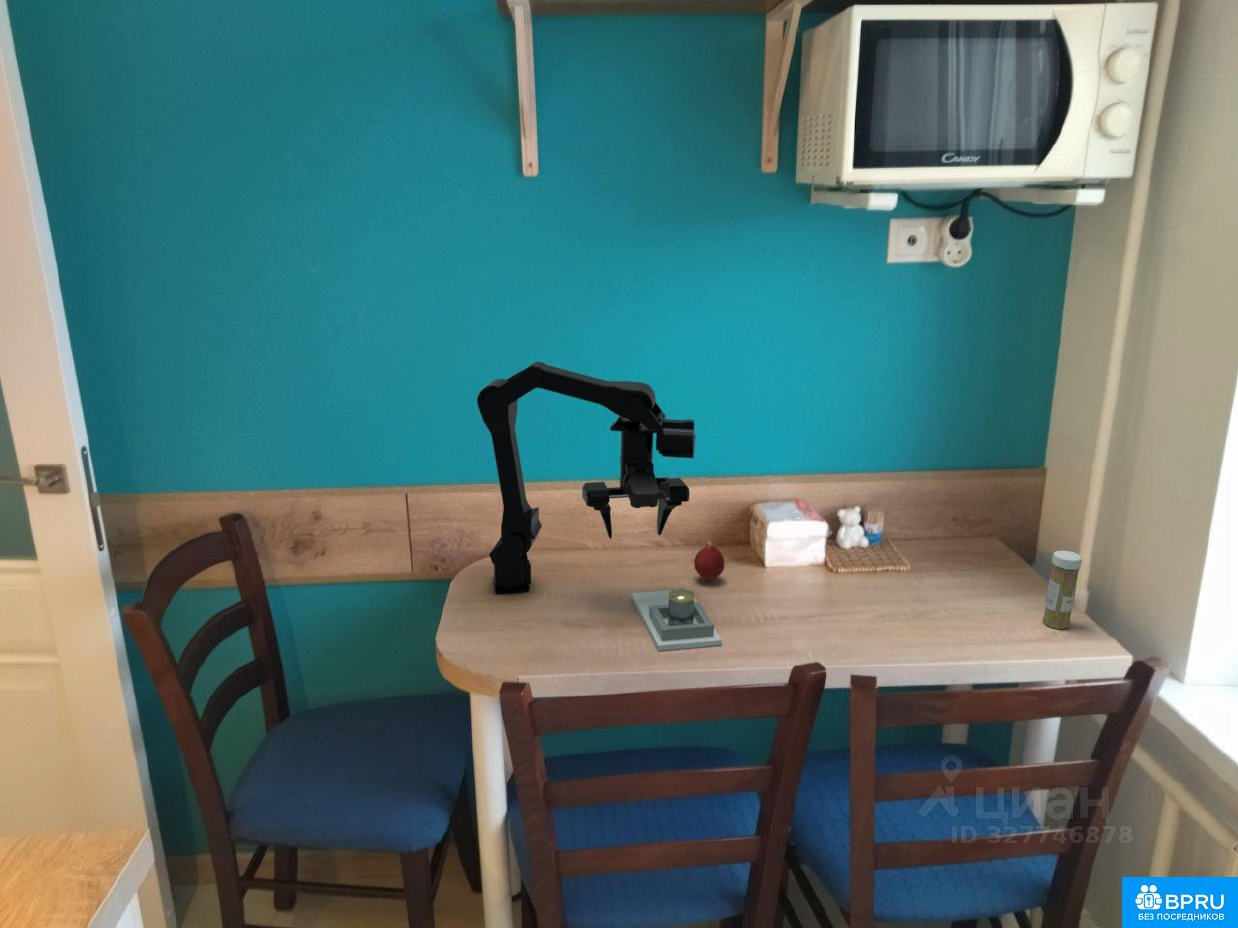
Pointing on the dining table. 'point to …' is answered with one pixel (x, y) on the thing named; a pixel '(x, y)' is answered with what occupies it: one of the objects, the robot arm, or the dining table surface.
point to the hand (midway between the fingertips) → (634, 536)
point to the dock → (677, 636)
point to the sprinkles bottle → (1061, 589)
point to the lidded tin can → (680, 607)
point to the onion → (709, 562)
